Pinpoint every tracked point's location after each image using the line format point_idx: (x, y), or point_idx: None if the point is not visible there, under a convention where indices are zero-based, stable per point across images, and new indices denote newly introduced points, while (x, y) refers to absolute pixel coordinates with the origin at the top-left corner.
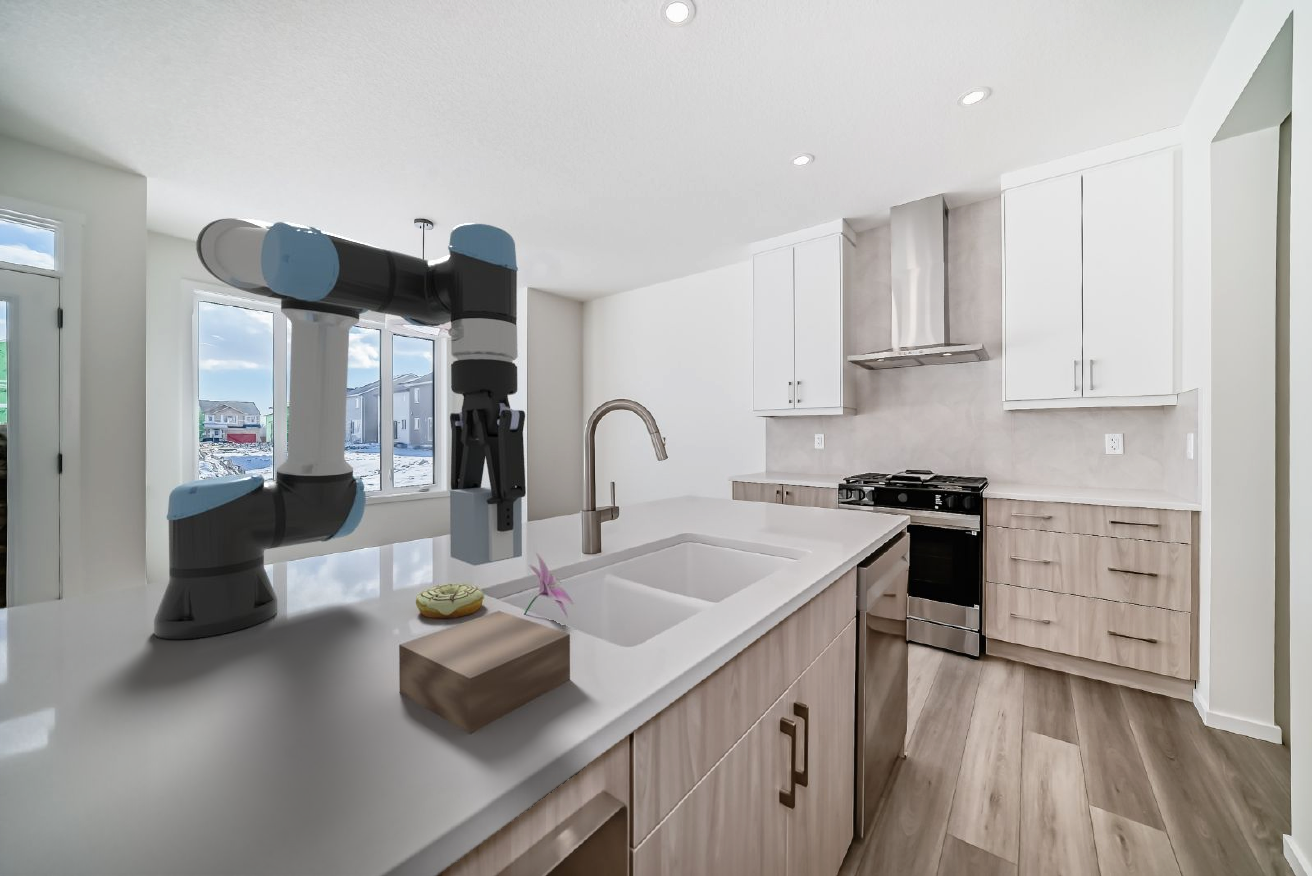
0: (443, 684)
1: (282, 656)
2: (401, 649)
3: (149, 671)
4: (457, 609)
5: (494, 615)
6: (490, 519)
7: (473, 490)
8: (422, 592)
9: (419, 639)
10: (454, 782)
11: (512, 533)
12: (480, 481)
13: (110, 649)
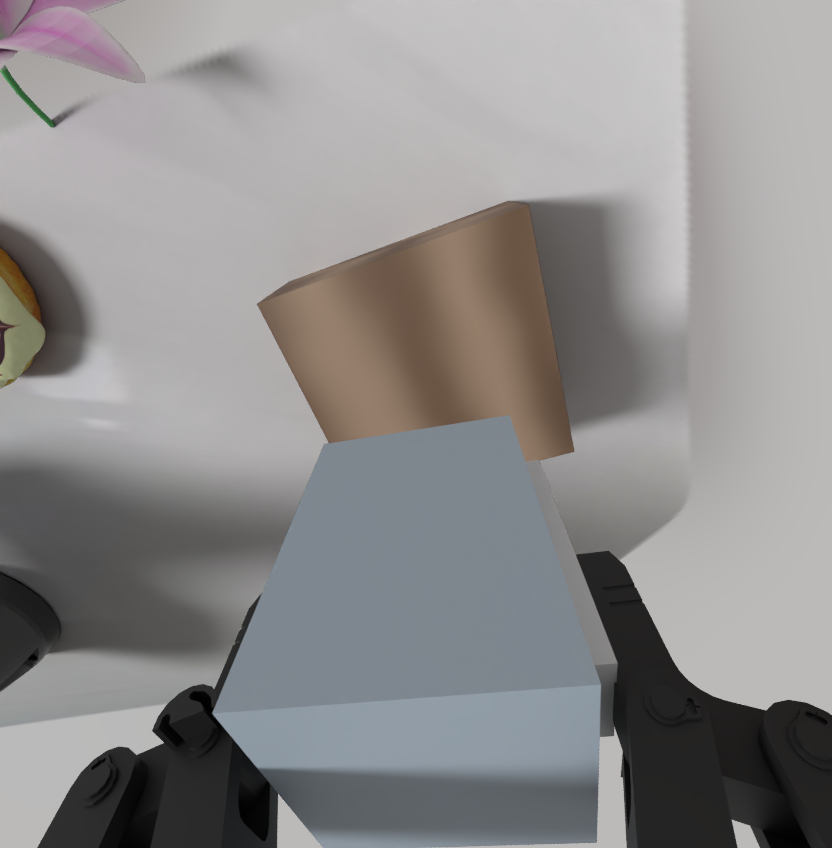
0: None
1: (164, 555)
2: None
3: (162, 644)
4: (29, 310)
5: (289, 325)
6: None
7: (411, 815)
8: None
9: None
10: (631, 446)
11: (563, 523)
12: (226, 824)
13: (74, 672)
